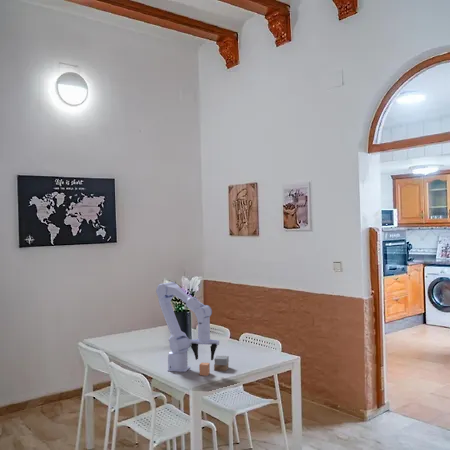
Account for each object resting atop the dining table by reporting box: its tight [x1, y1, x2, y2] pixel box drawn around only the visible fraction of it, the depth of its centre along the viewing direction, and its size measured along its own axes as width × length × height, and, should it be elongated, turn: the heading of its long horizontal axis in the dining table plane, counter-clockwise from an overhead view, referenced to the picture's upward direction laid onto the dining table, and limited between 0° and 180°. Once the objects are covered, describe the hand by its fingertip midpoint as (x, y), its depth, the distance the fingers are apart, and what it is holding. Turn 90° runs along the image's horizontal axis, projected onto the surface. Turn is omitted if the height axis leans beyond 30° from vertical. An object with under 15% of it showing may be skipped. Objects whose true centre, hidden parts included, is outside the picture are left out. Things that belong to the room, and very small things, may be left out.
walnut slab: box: [213, 363, 229, 372], centre depth 243 cm, size 6×6×3 cm
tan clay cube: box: [198, 362, 211, 376], centre depth 234 cm, size 4×4×5 cm
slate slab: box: [214, 355, 230, 365], centre depth 243 cm, size 6×6×3 cm
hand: (204, 359), depth 234 cm, fingers open, 7 cm apart
